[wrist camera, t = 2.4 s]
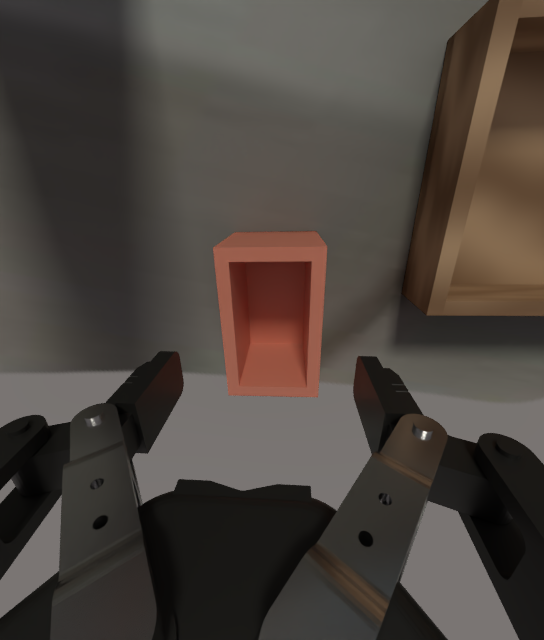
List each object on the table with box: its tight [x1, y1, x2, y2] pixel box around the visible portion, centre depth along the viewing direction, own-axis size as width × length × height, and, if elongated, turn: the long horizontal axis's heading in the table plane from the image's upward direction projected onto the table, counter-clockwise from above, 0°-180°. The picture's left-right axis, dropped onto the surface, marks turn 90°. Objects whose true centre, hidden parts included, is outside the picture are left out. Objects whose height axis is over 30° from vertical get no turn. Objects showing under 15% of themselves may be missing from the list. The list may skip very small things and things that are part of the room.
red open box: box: [213, 231, 327, 397], centre depth 18 cm, size 9×6×6 cm, turn 1°
